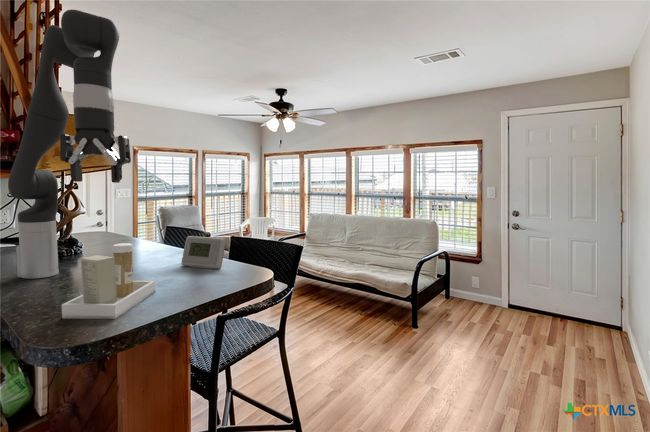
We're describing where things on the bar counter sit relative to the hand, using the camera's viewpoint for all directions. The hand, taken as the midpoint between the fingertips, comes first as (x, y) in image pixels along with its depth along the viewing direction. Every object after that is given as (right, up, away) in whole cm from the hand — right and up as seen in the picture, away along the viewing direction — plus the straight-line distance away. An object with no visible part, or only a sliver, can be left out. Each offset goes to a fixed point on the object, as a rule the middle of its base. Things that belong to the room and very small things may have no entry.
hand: (96, 182), depth 81 cm
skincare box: (-1, -30, +3) cm, 30 cm away
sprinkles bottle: (-1, -29, +13) cm, 31 cm away
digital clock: (+8, -26, +48) cm, 55 cm away
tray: (-1, -29, +8) cm, 31 cm away
